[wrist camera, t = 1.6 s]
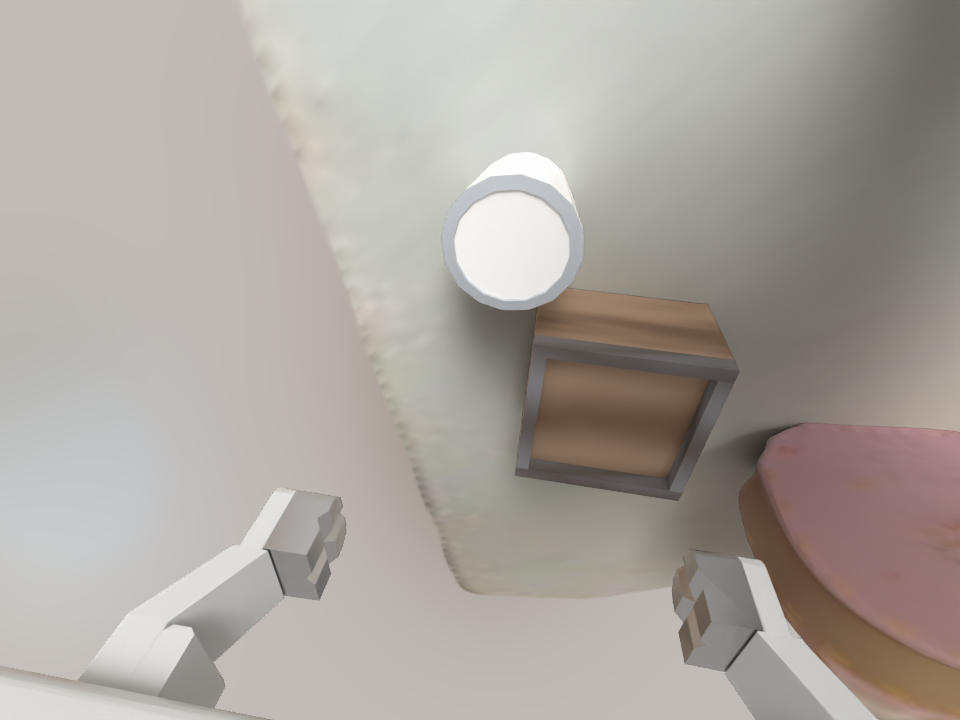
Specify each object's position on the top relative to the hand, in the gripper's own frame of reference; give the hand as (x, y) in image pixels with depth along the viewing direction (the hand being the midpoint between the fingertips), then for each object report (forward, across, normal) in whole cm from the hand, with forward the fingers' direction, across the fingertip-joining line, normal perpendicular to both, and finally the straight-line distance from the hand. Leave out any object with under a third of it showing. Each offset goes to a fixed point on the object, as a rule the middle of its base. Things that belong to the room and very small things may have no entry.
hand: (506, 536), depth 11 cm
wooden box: (+22, -6, +9) cm, 24 cm away
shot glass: (+22, +1, -1) cm, 22 cm away
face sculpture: (+22, -26, +14) cm, 36 cm away
